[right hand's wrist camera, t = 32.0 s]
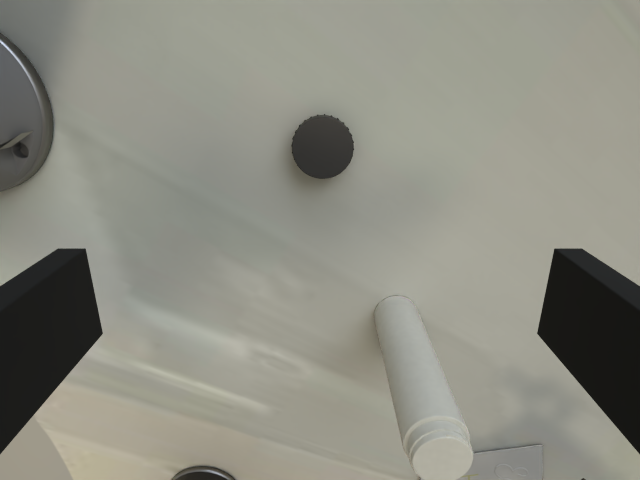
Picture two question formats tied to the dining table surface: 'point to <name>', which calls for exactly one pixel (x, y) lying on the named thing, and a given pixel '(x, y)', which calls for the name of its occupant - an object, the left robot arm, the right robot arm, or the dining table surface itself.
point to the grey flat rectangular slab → (507, 464)
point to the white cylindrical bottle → (421, 394)
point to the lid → (322, 146)
